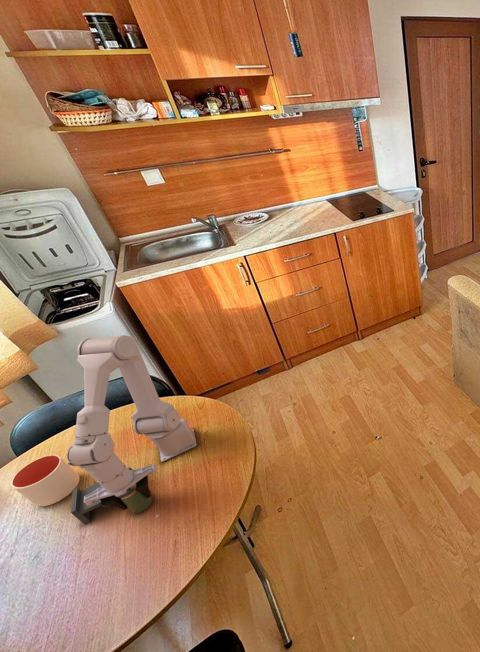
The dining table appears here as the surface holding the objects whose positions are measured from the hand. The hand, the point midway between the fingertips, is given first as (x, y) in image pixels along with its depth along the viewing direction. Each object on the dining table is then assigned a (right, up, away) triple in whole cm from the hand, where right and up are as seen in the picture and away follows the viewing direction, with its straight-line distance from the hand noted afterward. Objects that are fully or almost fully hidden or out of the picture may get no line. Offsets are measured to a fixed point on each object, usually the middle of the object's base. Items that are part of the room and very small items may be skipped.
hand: (137, 500), depth 102 cm
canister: (0, -2, +1) cm, 2 cm away
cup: (-27, 0, +5) cm, 28 cm away
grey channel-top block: (-10, -1, +3) cm, 10 cm away
